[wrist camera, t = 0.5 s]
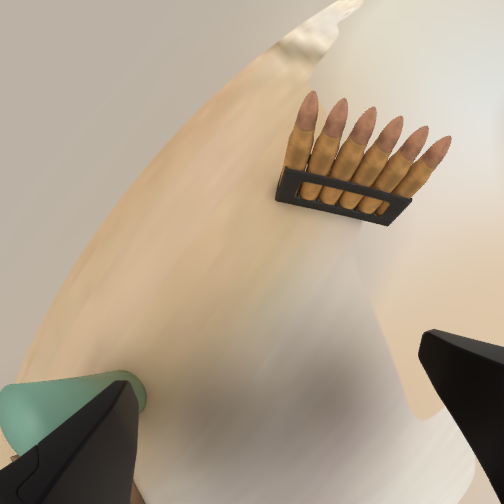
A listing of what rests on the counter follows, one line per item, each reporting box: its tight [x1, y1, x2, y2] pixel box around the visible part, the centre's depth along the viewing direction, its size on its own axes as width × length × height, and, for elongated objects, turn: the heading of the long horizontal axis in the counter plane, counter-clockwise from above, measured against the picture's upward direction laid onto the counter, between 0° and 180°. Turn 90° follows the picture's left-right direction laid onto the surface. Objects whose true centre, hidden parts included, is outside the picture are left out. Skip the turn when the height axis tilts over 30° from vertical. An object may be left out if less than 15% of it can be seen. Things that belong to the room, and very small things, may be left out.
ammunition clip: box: [275, 91, 451, 226], centre depth 19 cm, size 11×2×12 cm, turn 79°
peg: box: [0, 371, 146, 456], centre depth 14 cm, size 4×4×12 cm
